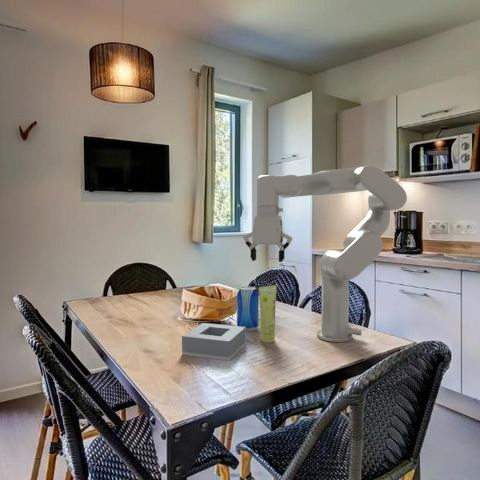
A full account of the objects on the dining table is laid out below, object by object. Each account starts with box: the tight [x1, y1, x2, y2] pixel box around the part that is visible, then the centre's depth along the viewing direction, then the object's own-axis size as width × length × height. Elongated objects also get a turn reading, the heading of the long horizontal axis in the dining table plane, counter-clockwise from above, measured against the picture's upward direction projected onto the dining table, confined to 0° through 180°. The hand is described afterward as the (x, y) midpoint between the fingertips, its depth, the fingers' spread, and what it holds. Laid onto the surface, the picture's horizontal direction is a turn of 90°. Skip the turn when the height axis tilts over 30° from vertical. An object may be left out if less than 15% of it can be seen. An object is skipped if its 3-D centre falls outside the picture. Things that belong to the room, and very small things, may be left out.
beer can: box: [236, 286, 260, 332], centre depth 152 cm, size 8×8×16 cm
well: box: [181, 322, 247, 362], centre depth 129 cm, size 16×16×6 cm
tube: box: [258, 284, 277, 344], centre depth 137 cm, size 6×5×20 cm
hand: (267, 261), depth 136 cm, fingers open, 9 cm apart
